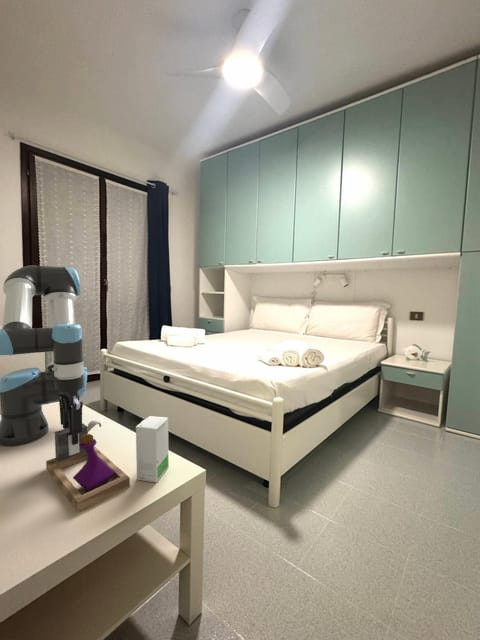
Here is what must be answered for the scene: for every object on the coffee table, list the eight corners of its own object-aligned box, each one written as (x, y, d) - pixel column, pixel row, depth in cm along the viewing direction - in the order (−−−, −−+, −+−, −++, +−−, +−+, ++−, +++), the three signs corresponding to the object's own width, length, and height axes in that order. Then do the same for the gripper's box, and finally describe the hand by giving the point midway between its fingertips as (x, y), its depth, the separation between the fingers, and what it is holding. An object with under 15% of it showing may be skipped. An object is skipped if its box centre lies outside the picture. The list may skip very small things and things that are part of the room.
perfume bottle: (89, 500, 75) (87, 432, 73) (73, 488, 79) (70, 424, 77) (115, 483, 81) (114, 420, 79) (99, 474, 85) (97, 414, 83)
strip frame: (46, 469, 87) (44, 434, 86) (92, 451, 97) (91, 420, 96) (78, 512, 71) (76, 470, 70) (129, 486, 81) (129, 449, 79)
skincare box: (156, 483, 82) (156, 429, 80) (134, 480, 83) (133, 426, 81) (169, 466, 90) (169, 416, 88) (149, 463, 91) (149, 414, 90)
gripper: (46, 372, 91) (49, 445, 93) (64, 385, 80) (68, 467, 82) (72, 368, 96) (75, 437, 99) (93, 379, 86) (95, 456, 88)
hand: (71, 450), depth 91 cm, fingers closed on strip frame, 3 cm apart
